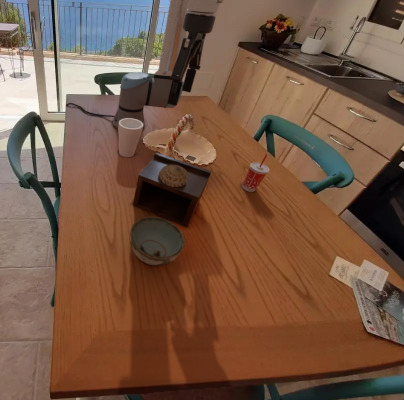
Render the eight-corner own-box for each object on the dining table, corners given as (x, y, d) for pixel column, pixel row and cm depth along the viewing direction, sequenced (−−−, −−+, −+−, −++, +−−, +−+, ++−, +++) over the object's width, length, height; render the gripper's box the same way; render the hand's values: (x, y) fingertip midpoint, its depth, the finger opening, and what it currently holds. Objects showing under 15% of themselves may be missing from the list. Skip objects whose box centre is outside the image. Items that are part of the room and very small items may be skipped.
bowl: (165, 286, 65) (173, 267, 60) (117, 261, 70) (120, 241, 65) (183, 249, 74) (192, 230, 69) (139, 229, 79) (144, 209, 73)
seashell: (190, 165, 80) (191, 170, 72) (184, 183, 82) (185, 190, 74) (162, 159, 81) (161, 163, 74) (157, 177, 83) (156, 183, 76)
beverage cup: (259, 188, 97) (279, 154, 88) (254, 195, 94) (273, 161, 84) (243, 180, 100) (260, 147, 91) (236, 187, 97) (254, 154, 87)
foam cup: (112, 155, 109) (115, 125, 100) (119, 145, 115) (122, 116, 106) (134, 161, 106) (139, 131, 98) (140, 150, 113) (145, 121, 104)
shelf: (132, 204, 87) (139, 171, 78) (148, 184, 95) (155, 152, 87) (186, 227, 80) (200, 194, 71) (198, 203, 89) (211, 171, 80)
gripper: (203, 20, 58) (178, 114, 72) (226, 11, 74) (202, 89, 88) (170, 15, 61) (152, 107, 75) (199, 8, 77) (180, 84, 91)
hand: (179, 97), depth 82 cm, fingers open, 13 cm apart
